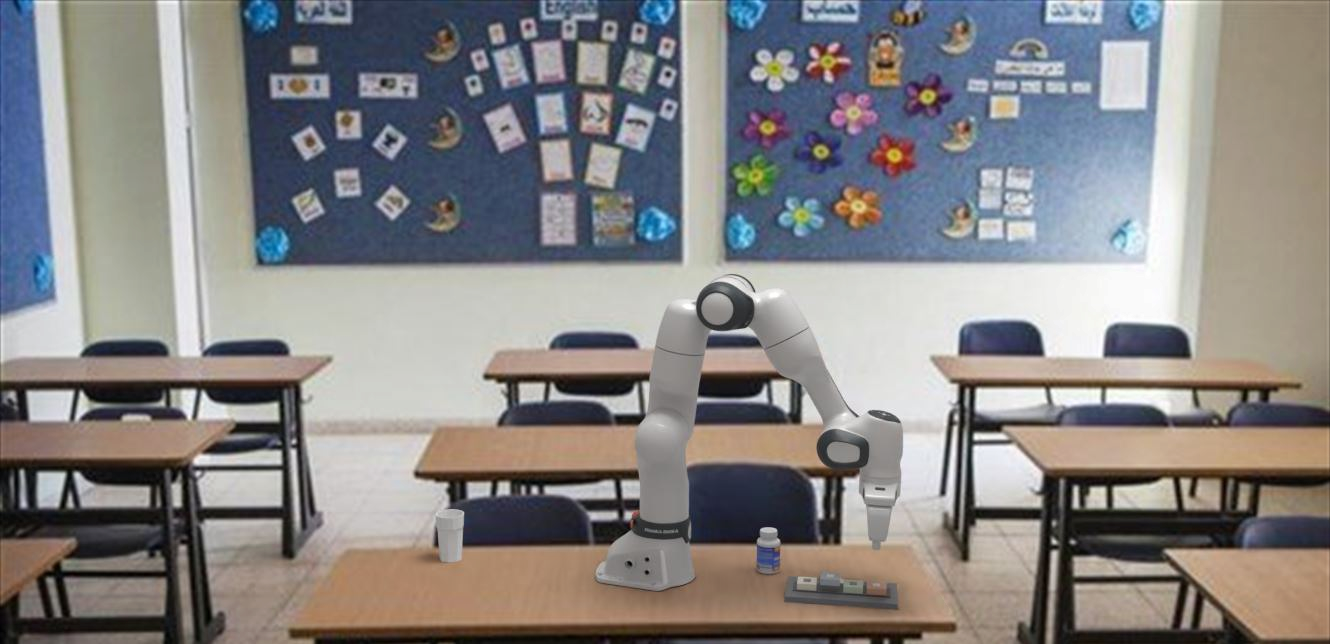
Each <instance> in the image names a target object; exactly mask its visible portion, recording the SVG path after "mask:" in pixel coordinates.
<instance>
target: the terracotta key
mask: <svg viewBox="0 0 1330 644" xmlns="http://www.w3.org/2000/svg"><path fill="white" fill-rule="evenodd" d="M886 583H887V582H886V581H885V582H884V581H873V580H872V581H871V580H867V594H870V595H885V596H886V591H887V588H886Z"/></svg>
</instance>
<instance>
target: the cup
mask: <svg viewBox="0 0 1330 644" xmlns="http://www.w3.org/2000/svg"><path fill="white" fill-rule="evenodd" d="M464 522H465V511H463V510H462V509H461V510H460V509H453V508H452V509H451V508H450V509H442V510H439V511H436V512H435V526H436V529H437V538H438V539H437V541H438V551H439V560H440V561H441V562H443V563H448V564H450V563H456V562H460V561H461V560H462V559H463V541H464V540H463V536H464V534H463V533H464V527H465V526H464V525H465V523H464Z"/></svg>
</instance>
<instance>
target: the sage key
mask: <svg viewBox="0 0 1330 644" xmlns="http://www.w3.org/2000/svg"><path fill="white" fill-rule="evenodd" d="M863 581H864V580H858V579H857V580H855V579H844V585H843V593H856V594H863Z"/></svg>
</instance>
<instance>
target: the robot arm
mask: <svg viewBox="0 0 1330 644" xmlns="http://www.w3.org/2000/svg"><path fill="white" fill-rule="evenodd" d="M663 313H664V314H663V316H662V319H661V321H660V324H659V328H658V332H657V335H656V339H655V345H654V351H653V356H652V362H651V367H650V368H651V369H650V374H649V379H648V380H649V390H648V392H649V393H648V403H647V404H648V405H647V411H646V413H645V416H644V418H643V420H642V421H641V422H640V423H639V424H638V426H637V427H636V431H635V434H634V447H635V454H636V465H637V472H638V479H639V510H638V509H637V510H634V512H633V513H632V514H631V518H630V526H629V527H630V530H629V531H628V532H627V533H625V534H624V535H622V536H620V537H619V538H617V539H616V540H615V541H614V542H613V543H612V544H611V545H610V547H609V548H608V551H607V553H606V559H605V560H604V561H602V562H600V564H599V565H598V566H597V568H596V570H595V577H594V578H595V580H596V581H597V582H598V583H601V584H608V585H615V586H621V587H628V588H634V589H642V590H646V591H647V590H648V591H649V590H650V591H654V592H655V591H656V592H660V591H664V590H666V589H669V588H675V587H679V586H682V585H685V584H688V583H690V582H692V581H693V580H694V579H695V578H696V572H695V570H694V569H695V568H694V565H693V561H692V560H693V559H692V555H691V546H690V545H691V544H690V540H691V538H692V521H691V520H692V519H691V515H690V514H689V513H690V512H689V511H690V509H689V508H690V500H689V499H690V481H689V477H688V470H687V456H686V454H687V452H686V450H687V446H688V443H689V441H690V440H691V438H692V436H693V433H694V427H695V421H696V413H697V405H698V398H699V396H698V395H699V387H700V381H701V376H702V370H703V365H704V359H705V354H706V350H707V349H706V348H707V345H708V344H707V343H708V340H709V339H708V338H709V337H710V336H709V335H710V333H711V332H712V331H715V332H731V331H735V330H744V329H747V328H749V329H750V330H752V331H753V332H754V334H755V336H756V338H757V339H758V341H759V343H760V345H761V347H762V349H763V352H764V353H765V355H766V357H767V359H768V360H769V363H771V365H772V366H773V368H774V369H775V370H776V372H777V373H778V374H779V375H780V376H782V377H784V378H786V379H789V380H793V381H795V382H797V384H799V385H801V387H802V388H803V389H804V390H805V391H806V393H807V395H808V396H809V398H810V400H811V401H812V404H813V406H815V409H816V411H817V412H818V414H819V416H820V418H821V420H822V424H823V426H822V427H823V429H822V432H821V433H820V435H819V437H818V438H817V442H816V455H817V456H818V459H819V460H820V462H821V463H822V464H823V465H825V466H826V467H827V468H829V469H832V470H836V471H837V470H838V471H844V470H846V471H847V470H848V471H849V470H856V469H859V476H858V477H859V479H858V494H860V496H861V498H862V500H863V503H864V505H865V509H866V517H867V518H866V521H867V523H866V524H867V534H868V540H869V541H870V542H871V549H872V550H873V551H880V550H881V549H882V548H881V545H882V543H885V542H886V541H887V538H888V534H889V529H890V523H891V518H892V517H891V515H892V511H893V507H895V506H896V503H897V500H898V498H899V497H901V486H902V468H901V461H902V458H903V454H904V430H903V428H904V427H903V423H902V421H901V420H900V419H899V418H898V416H896V415H894V414H893V413H892V412H888V411H884V410H882V409H879V410H878V409H871V410H867V411H866V412H865V413H864V414H862V415H858V413H856V412H855V411H854V410H852V408H851V407H850V406H849V405H848V404H847V402H846V401H845V399H844V398H843V395H842V393H841V391H840V390H839V388H838V386H837V384H836V383H835V381H834V379H833V377H832V376H831V373H830V371H829V370H828V369H827V366H826V363H825V361H824V357H823V356H822V352H821V349H820V347H819V345H818V342H817V340H816V337H815V335H814V333H813V331H812V329H811V327H810V324H809V323H808V321H807V319H806V317H805V316H804V314H803V312H802V311H801V309H800V308H799V306H798V304H796V302H795V300H794V299H793V298H792V296H791V295H790V294H789V293H788V291H786V290H785V289H783V288H778V287H773V288H767V289H764V290H762V291H761V292H756V289H755V287H754V285H753V284H752V282H751V281H750V280H749V279H747V278H746V277H745V276H744V275H740V274H737V273H729V274H728V273H727V274H724V275H721V276H718V277H717V278H714V279H713V280H711V281H710V282H709V283H708V284H707V285H706V286H704V287H703V288H702V289H701V291H700V292H699V294H698V296H697V298H696V299H692V298H677V299H675V300H672V301H671V302H669V304H668V305H667V306H666V307H665V311H664V312H663Z"/></svg>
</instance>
